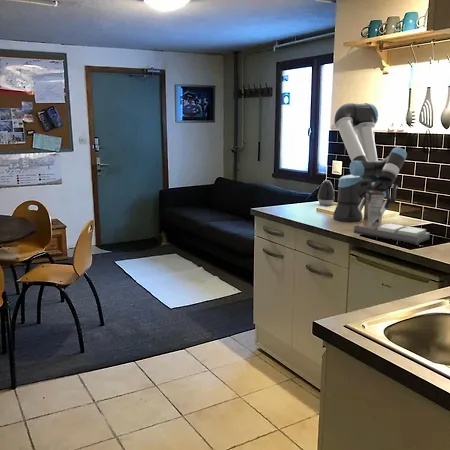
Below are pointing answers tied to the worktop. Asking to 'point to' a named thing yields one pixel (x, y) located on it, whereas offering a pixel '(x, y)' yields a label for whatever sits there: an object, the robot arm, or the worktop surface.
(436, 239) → the worktop surface
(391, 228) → the key grey
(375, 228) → the key terracotta
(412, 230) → the key sage
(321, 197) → the dark grey egg shape
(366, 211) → the coffee box
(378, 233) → the keypad
